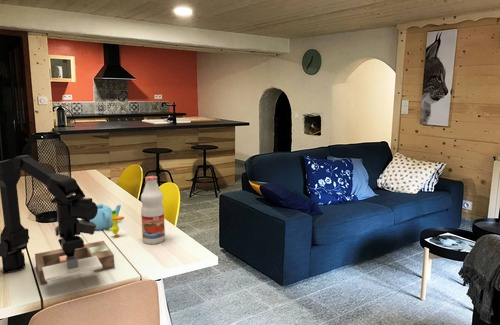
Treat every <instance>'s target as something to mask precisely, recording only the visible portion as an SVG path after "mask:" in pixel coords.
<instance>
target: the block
mask: <svg viewBox="0 0 500 325" xmlns="http://www.w3.org/2000/svg"><path fill="white" fill-rule="evenodd" d="M66 257H67V256H66V255H65V256H60V257H59V261H60V263H65V262H66Z"/></svg>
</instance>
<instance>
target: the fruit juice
mask: <svg viewBox="0 0 500 325" xmlns="http://www.w3.org/2000/svg"><path fill="white" fill-rule="evenodd" d="M144 180H145V185H144V188H143V190H142V191H143V192H142V193H141V195H140V201H141V204H142V205H141V207H140V208H141V210H140V211H141V213H140V215H141V216H140V218H141V233H142V239H141V240H142V243H145V244H147V245H155V244H160V243H163V242H164V241H165V239H166V238H165V237H166V236H165V235H166V233H165V232H166V230H165V229H166V228H165V226H166V225H165V208H164V205H163V201H164V195H163V193H162V191H161V189H160V186H159V184H158V176H157V175H148V176H145V179H144Z"/></svg>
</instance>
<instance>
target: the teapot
mask: <svg viewBox="0 0 500 325" xmlns="http://www.w3.org/2000/svg"><path fill="white" fill-rule="evenodd" d="M96 205H97V207H98V212H97V215H96V217H95V218H94V219H92V220H90V222H93V223H95V225H96V228H95V231H102V230H103V231H104V229H105V230H108V228H112V227H113V221H112V220H111V219H112V211H113V209H112V208H111V207H110V206H108V205H104V204H103V203H98V204H96ZM121 206H122V205H121V204H117V205H116V207H115V209H114V210H116V212H117V217H119V214H120V211H121Z"/></svg>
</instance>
